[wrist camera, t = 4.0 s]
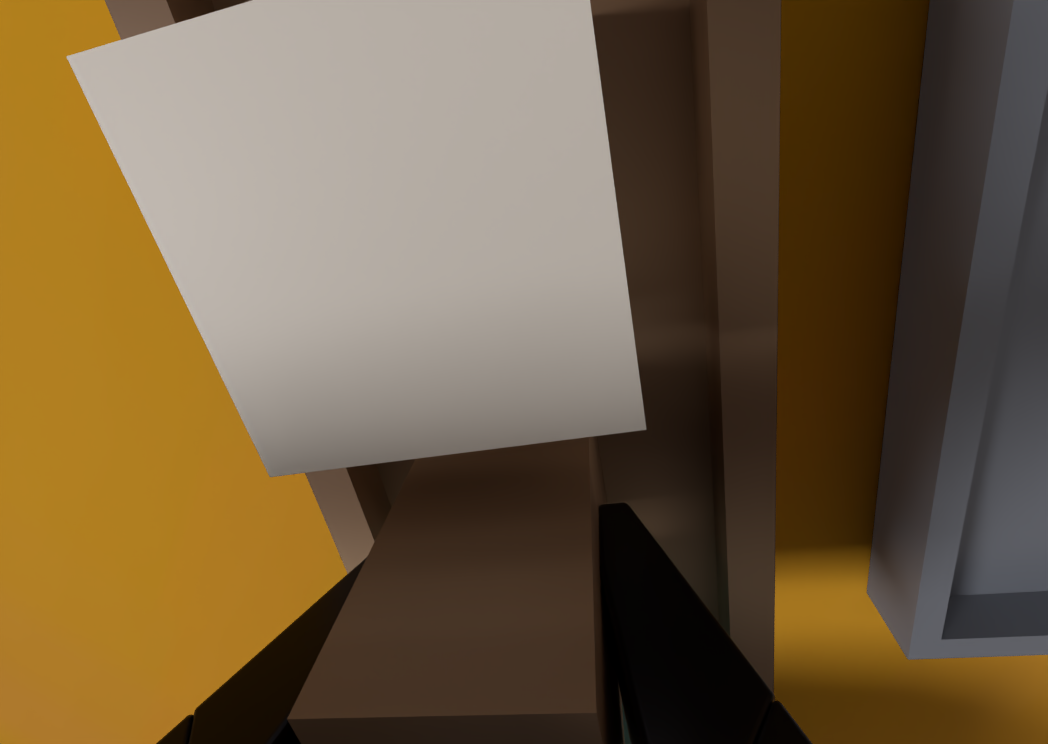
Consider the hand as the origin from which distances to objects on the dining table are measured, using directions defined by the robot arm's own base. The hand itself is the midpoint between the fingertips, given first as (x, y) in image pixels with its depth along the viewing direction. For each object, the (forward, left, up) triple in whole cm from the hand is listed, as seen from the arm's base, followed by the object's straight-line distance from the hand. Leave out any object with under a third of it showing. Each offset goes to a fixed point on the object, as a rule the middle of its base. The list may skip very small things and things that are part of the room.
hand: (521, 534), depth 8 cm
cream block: (+5, 0, -2) cm, 5 cm away
